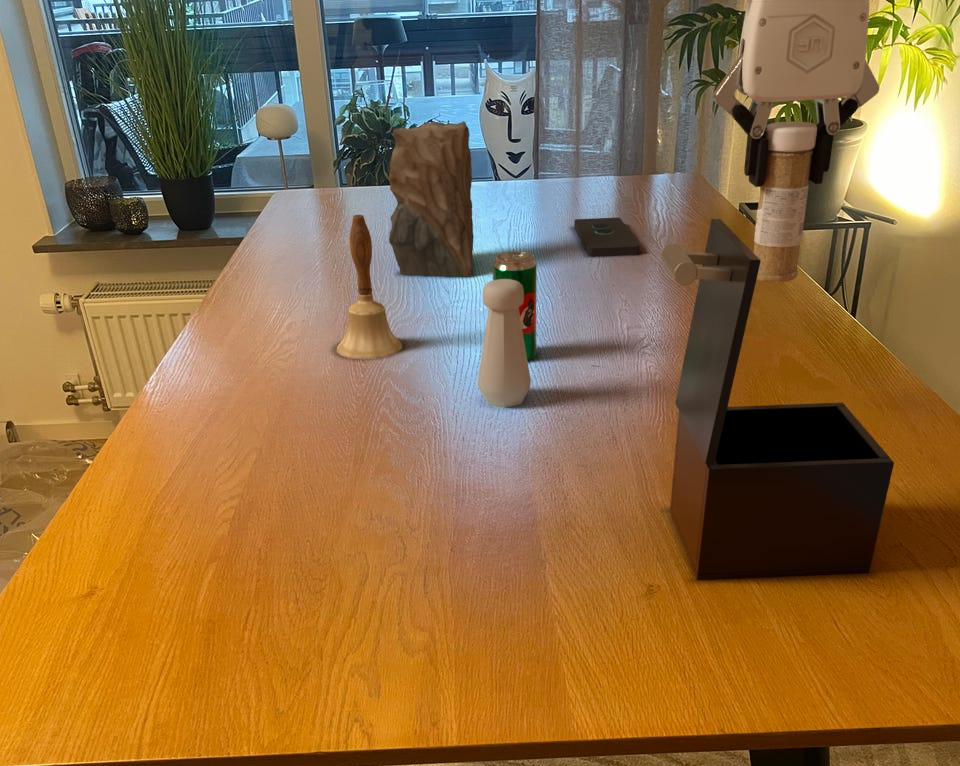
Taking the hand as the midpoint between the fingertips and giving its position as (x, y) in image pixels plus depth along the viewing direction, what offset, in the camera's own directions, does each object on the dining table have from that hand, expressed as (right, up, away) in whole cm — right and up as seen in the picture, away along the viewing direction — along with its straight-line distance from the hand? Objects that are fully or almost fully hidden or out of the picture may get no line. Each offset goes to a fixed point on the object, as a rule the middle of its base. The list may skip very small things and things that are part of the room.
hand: (784, 180), depth 93 cm
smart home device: (-7, +23, +74) cm, 78 cm away
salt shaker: (-25, -16, +18) cm, 35 cm away
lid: (-11, -20, -19) cm, 30 cm away
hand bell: (-42, -6, +33) cm, 54 cm away
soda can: (-24, -8, +29) cm, 39 cm away
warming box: (-5, -34, -9) cm, 36 cm away
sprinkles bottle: (0, -7, +5) cm, 9 cm away
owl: (-34, +14, +62) cm, 72 cm away
